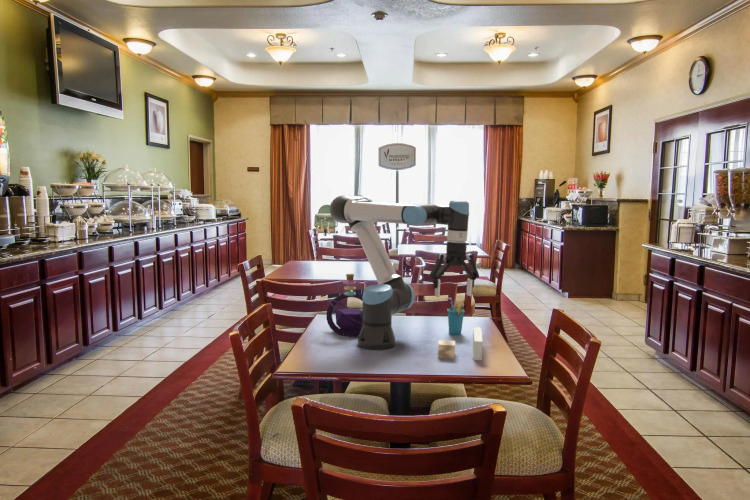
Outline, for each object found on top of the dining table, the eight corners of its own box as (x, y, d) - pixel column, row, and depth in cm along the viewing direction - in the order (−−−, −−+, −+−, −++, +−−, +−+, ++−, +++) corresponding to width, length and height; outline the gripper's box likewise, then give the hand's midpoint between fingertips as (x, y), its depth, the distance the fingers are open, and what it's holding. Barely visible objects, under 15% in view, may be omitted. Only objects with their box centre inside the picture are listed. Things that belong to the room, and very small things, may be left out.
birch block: (437, 357, 189) (438, 344, 188) (438, 352, 195) (439, 339, 194) (454, 358, 188) (454, 345, 187) (454, 353, 194) (455, 340, 193)
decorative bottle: (316, 334, 216) (316, 275, 213) (335, 322, 236) (335, 268, 233) (365, 339, 209) (366, 279, 206) (381, 327, 229) (382, 272, 226)
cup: (438, 329, 226) (439, 296, 224) (453, 328, 229) (454, 295, 227) (454, 338, 213) (455, 303, 212) (470, 336, 216) (471, 302, 214)
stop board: (473, 359, 187) (474, 341, 186) (472, 343, 206) (473, 327, 205) (481, 360, 186) (482, 341, 185) (480, 344, 206) (481, 327, 205)
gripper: (430, 242, 186) (427, 299, 189) (490, 243, 194) (486, 297, 196) (422, 240, 193) (419, 294, 196) (480, 240, 201) (476, 293, 203)
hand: (453, 296), depth 196 cm, fingers open, 13 cm apart
